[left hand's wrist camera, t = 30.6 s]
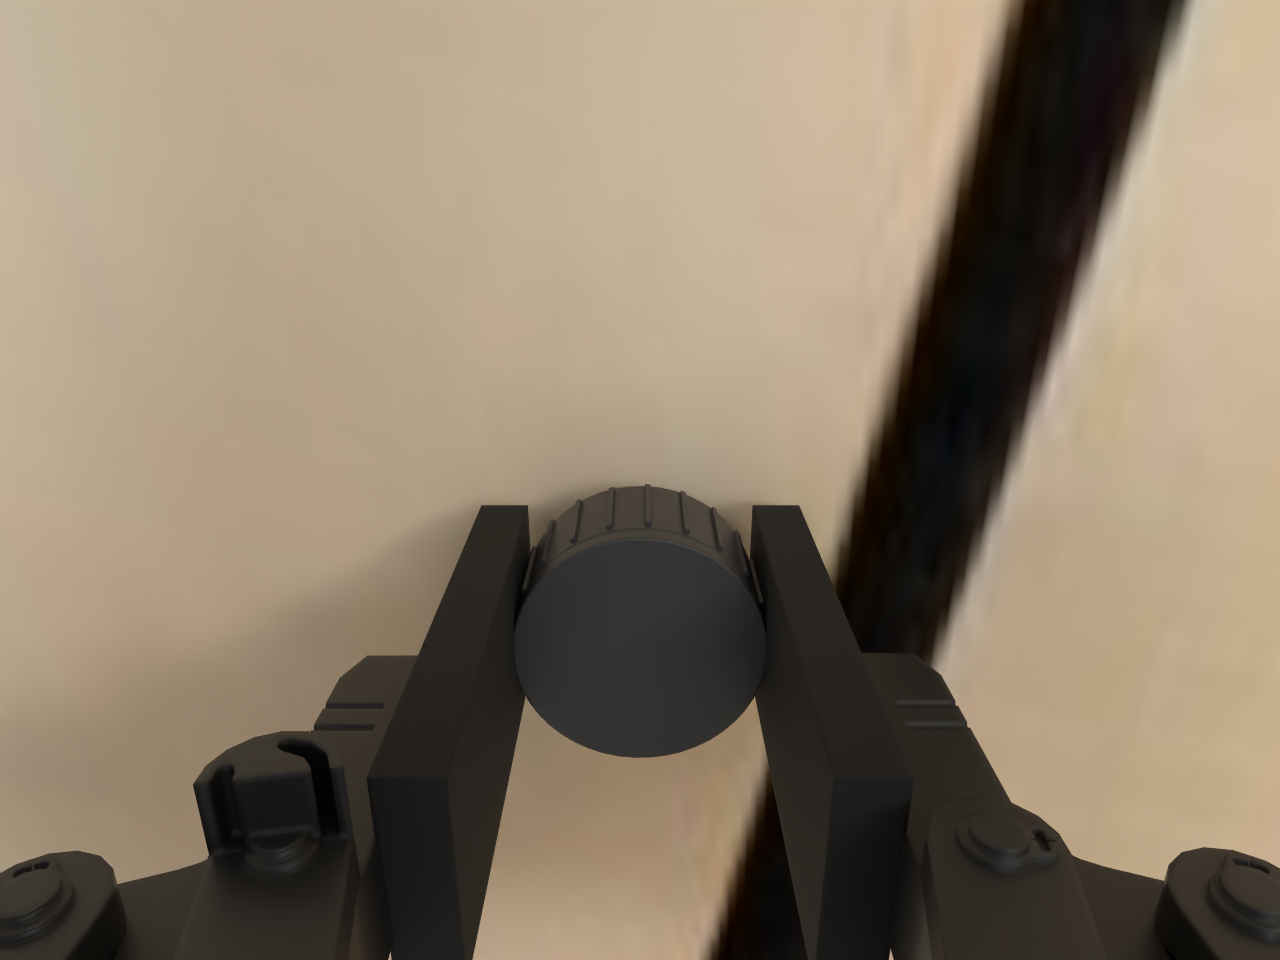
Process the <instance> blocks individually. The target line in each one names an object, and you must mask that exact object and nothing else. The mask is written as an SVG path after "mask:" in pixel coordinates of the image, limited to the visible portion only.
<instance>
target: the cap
mask: <svg viewBox="0 0 1280 960" xmlns="http://www.w3.org/2000/svg"><path fill="white" fill-rule="evenodd" d="M520 593H522V594H523V595H522V599H521V603H520V607H519V611H518V615H517V619H516V623H515V628H514V643H515V660H516V674H517V678H518V681H519V683H520V685H521V688H522V690H523V692H524V694H525V695H526V697H527V699H528V701H529V702H530V704H531V705H532V706H533V708H534V709H535V710H536V712H537V713H538V714H539V715H540V716H541V717H542V718H543V719H544V720H545V721H546V722H547V723H548V724H549V725H550V726H551V727H553V728H554V729H555V730H557V731H558V732H559V733H560V734H562V735H563V736H565V737H567V738H569V739H570V740H572V741H574V742H576V743H578V744H580V745H582V746H585V747H587V748H589V749H592V750H595V751H599V752H602V753H606V754H611V755H616V756H622V757H633V758H643V757H658V756H666V755H670V754H674V753H679V752H682V751H685V750H688V749H691V748H694V747H696V746H698V745H700V744H703V743H705V742H707V741H709V740H711V739H712V738H714V737H715V736H717V735H718V734H720V733H721V732H723V731H724V730H725V729H727V728H728V727H729V726H730V725H731V724H733V723H734V722H735V721H736V720H737V719H738V718H739V717H740V715H741V714H742V713H743V712H744V711H745V710H746V708H747V707H748V706H749V704H750V703H751V701H752V700H753V698H754V696H755V694H756V692H757V691H758V689H759V687H760V684H761V682H762V679H763V676H764V669H765V653H766V625H765V621H764V618H763V613H762V610H761V607H764V601H763V597H762V594H761V590H760V586H759V582H758V578H757V574H756V571H755V567H754V563H753V559H748V556H747V553H746V551H745V549H744V547H743V544H742V541H741V537H740V533H739V532H738V530H736V531H734V530H733V529H732V528H731V527H730V526H729V524H728V523H727V522H726V521H725V520H724V519H723V518H722V517H721V516H720V515H718V514H717V510H716V509H715V508H714V507H712V508H709V507H708V506H706V505H705V504H703V503H702V502H700V501H698V500H696V499H694V498H692V497H690V496H687V495H686V493H685V492H683V491H681V492H680V493H679V492H676V491H672V490H668V489H663V488H657V487H650V485H645V486H638V487H624V488H617V489H614V487H612V488H609V491H605V492H601V493H598V494H596V495H593V496H591V497H589V498H586V499H584V500H583V501H581V499H579V500H578V501H576V504H575V505H574V506H572V507H571V508H570V509H568V510H567V511H566V512H564V513H563V514H562V515H561V516H560V517H559V518H558V519H557V520H556V521H554V520H552V521H551V522H550V523H549V527H548V530H547V531H546V532H545V534H544V535H543V536H542V538H541V540H540V542H539V544H538V545H537V547H534V546H533V548H532V550H531V554H530V557H529V561H528V565H527V569H526V573H525V577H524V580H523V584H522V588H521V592H520Z"/></svg>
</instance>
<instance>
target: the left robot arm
mask: <svg viewBox="0 0 1280 960" xmlns="http://www.w3.org/2000/svg"><path fill="white" fill-rule="evenodd" d="M529 557H530V537H529V518H528V505H482V506H481V508H480V510H479V513H478V515H477V517H476V520H475V522H474V525H473V527H472V529H471V532H470V534H469V536H468V539H467V541H466V544H465V546H464V548H463V551H462V553H461V555H460V558H459V560H458V562H457V565H456V567H455V570H454V572H453V574H452V577H451V579H450V581H449V584H448V586H447V588H446V591H445V593H444V596H443V598H442V600H441V603H440V605H439V607H438V610H437V612H436V615H435V617H434V619H433V622H432V624H431V626H430V629H429V631H428V633H427V636H426V638H425V641H424V643H423V645H422V648H421V650H420V652H419V655H418V656H367V657H365V658H364V659H363V660H362V661H360V662H359V663H358V664H357V665H355V666H354V667H353V668H352V669H350V670H349V671H348V672H347V673H345V674H344V675H343V676H342V677H340V679H339V681H338V682H337V684H336V686H335V688H334V690H333V692H332V693H331V695H330V697H329V699H328V701H327V702H326V708H325V709H323V710H322V712H321V713H320V715H319V717H318V719H317V721H316V723H315V724H314V731H311V732H308V731H281V732H277V733H272V734H268V735H263V736H259V737H254V738H252V739H250V740H248V741H245V742H243V743H241V744H239V745H236V746H234V747H232V748H230V749H228V750H226V751H225V752H224V753H222V754H221V755H220V756H218V757H217V758H216V759H214V760H213V761H212V762H210V763H209V764H208V765H206V767H205V768H204V769H203V771H202V772H201V774H200V775H199V777H198V778H197V779H196V781H195V782H194V784H193V787H194V791H195V796H196V800H197V804H198V809H199V813H200V817H201V822H202V826H203V830H204V835H205V839H206V843H207V848H208V852H209V856H208V859H207V860H205V861H203V862H201V863H198V864H195V865H192V866H188V867H185V868H182V869H179V870H175V871H171V872H167V873H163V874H159V875H154V876H150V877H146V878H142V879H138V880H134V881H129V882H125V883H121V884H117V881H116V878H115V874H114V871H113V868H112V867H111V866H110V865H109V864H108V863H107V862H106V861H105V860H104V859H103V858H102V857H101V856H98V855H94V854H90V853H85V852H81V851H71V852H61V853H51V854H46V855H43V856H40V857H37V858H34V859H31V860H28V861H25V862H22V863H19V864H16V865H14V866H12V867H11V868H9V869H7V870H5V871H3V872H2V873H0V960H388V958H389V955H390V951H391V957H392V960H472V959H473V954H474V949H475V944H476V939H477V934H478V929H479V924H480V919H481V914H482V909H483V904H484V900H485V895H486V890H487V885H488V880H489V875H490V870H491V865H492V860H493V855H494V850H495V845H496V840H497V835H498V830H499V825H500V820H501V815H502V810H503V805H504V801H505V796H506V791H507V786H508V781H509V776H510V771H511V766H512V761H513V756H514V751H515V746H516V741H517V736H518V731H519V726H520V721H521V716H522V711H523V706H524V702H525V697H526V695H525V694H524V692H523V690H522V688H521V685H520V683H519V681H518V678H517V674H516V660H515V643H514V628H515V623H516V619H517V615H518V611H519V607H520V603H521V599H522V595H523V594H522V593H520V592H521V588H522V584H523V580H524V577H525V573H526V569H527V565H528V561H529ZM750 559H753V563H754V567H755V571H756V574H757V578H758V582H759V586H760V590H761V594H762V597H763V601H764V607H761V610H762V613H763V618H764V621H765V625H766V653H765V669H764V676H763V679H762V682H761V684H760V687H759V689H758V691H757V692H756V694H755V699H756V704H757V709H758V714H759V719H760V724H761V728H762V733H763V738H764V743H765V748H766V753H767V758H768V763H769V768H770V773H771V778H772V783H773V788H774V793H775V798H776V803H777V808H778V813H779V818H780V822H781V827H782V832H783V837H784V842H785V847H786V852H787V857H788V862H789V867H790V872H791V877H792V882H793V887H794V892H795V897H796V902H797V907H798V912H799V916H800V921H801V926H802V931H803V936H804V941H805V946H806V951H807V956H808V960H889V954H890V948H891V952H892V955H893V958H894V960H1280V868H1278V867H1276V866H1274V865H1272V864H1270V863H1269V862H1267V861H1265V860H1262V859H1258V858H1255V857H1252V856H1249V855H1246V854H1243V853H1240V852H1237V851H1234V850H1226V849H1216V848H1206V847H1203V848H1199V849H1194V850H1190V851H1185V852H1181V853H1180V854H1179V855H1178V856H1177V857H1176V858H1175V859H1174V860H1173V861H1172V862H1171V863H1170V864H1169V866H1168V870H1167V873H1166V877H1165V880H1164V881H1162V880H1158V879H1154V878H1149V877H1145V876H1141V875H1137V874H1133V873H1128V872H1124V871H1120V870H1116V869H1112V868H1108V867H1104V866H1100V865H1097V864H1094V863H1091V862H1088V861H1085V860H1081V859H1079V858H1077V857H1075V856H1073V855H1071V853H1070V851H1069V849H1068V848H1067V846H1066V844H1065V843H1064V841H1063V840H1062V838H1061V836H1060V835H1059V833H1058V832H1056V831H1055V830H1054V829H1053V828H1052V827H1051V826H1049V825H1048V824H1047V823H1046V822H1045V821H1043V820H1042V819H1041V818H1040V817H1039V816H1037V815H1035V814H1033V813H1031V812H1029V811H1027V810H1025V809H1023V808H1021V807H1019V806H1017V805H1015V804H1013V803H1011V801H1010V799H1009V797H1008V796H1007V794H1006V792H1005V790H1004V788H1003V787H1002V785H1001V783H1000V781H999V779H998V777H997V776H996V774H995V772H994V770H993V768H992V767H991V765H990V763H989V761H988V759H987V758H986V756H985V754H984V752H983V750H982V748H981V747H980V745H979V743H978V741H977V739H976V738H975V736H974V734H973V732H972V730H971V729H970V728H968V727H967V721H966V720H965V718H964V716H963V714H962V712H961V710H960V709H959V707H958V706H956V705H955V700H954V698H953V696H952V694H951V692H950V691H949V689H948V687H947V685H946V683H945V681H944V680H943V678H942V676H941V675H940V674H939V673H938V672H936V671H935V670H934V669H933V668H931V667H930V666H929V665H928V664H926V663H925V662H924V661H923V660H921V659H920V658H919V657H918V656H916V655H915V654H914V653H861V651H860V649H859V646H858V644H857V641H856V639H855V637H854V634H853V632H852V630H851V627H850V625H849V623H848V620H847V618H846V615H845V613H844V611H843V608H842V606H841V604H840V601H839V599H838V597H837V594H836V592H835V589H834V587H833V585H832V582H831V580H830V578H829V575H828V573H827V570H826V568H825V566H824V563H823V561H822V559H821V556H820V554H819V552H818V549H817V547H816V544H815V542H814V540H813V537H812V535H811V533H810V530H809V528H808V526H807V523H806V521H805V518H804V516H803V514H802V511H801V509H800V507H799V505H753V509H752V529H751V549H750Z"/></svg>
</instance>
